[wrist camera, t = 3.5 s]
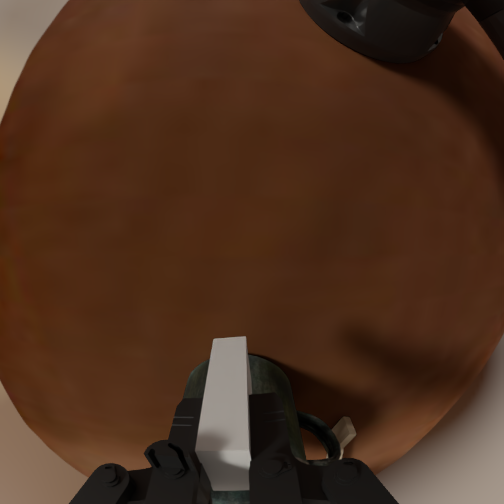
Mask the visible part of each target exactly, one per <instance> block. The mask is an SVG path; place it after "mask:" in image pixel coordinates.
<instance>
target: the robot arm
mask: <svg viewBox="0 0 504 504" xmlns="http://www.w3.org/2000/svg"><path fill="white" fill-rule="evenodd" d="M299 1H300V3H301V5H302V6H303V8H304V10H305V11H306V12H307V14H308V15H309V16H310V17H311V18H312V19H313V20H314V22H315V23H317V24H318V25H319V26H320V27H321V28H322V29H323V30H324V31H326V32H327V33H328V34H329V35H331V36H332V37H333V38H335V39H336V40H338V41H339V42H341V43H343V44H344V45H346V46H348V47H349V48H351V49H353V50H355V51H357V52H359V53H362V54H364V55H366V56H369V57H372V58H375V59H378V60H382V61H386V62H391V63H410V62H414V61H417V60H419V59H421V58H423V57H424V56H426V55H427V54H429V53H430V52H432V51H433V50H434V49H435V48H436V47H437V46H438V44H439V43H440V41H441V39H442V35H443V32H444V31H445V30H446V28H447V27H448V25H449V24H450V22H451V20H452V18H453V16H454V14H455V13H456V12H457V11H458V10H460V9H461V8H463V7H464V6H466V8H467V9H468V10H469V11H470V12H471V14H472V15H473V16H474V17H475V19H476V20H477V21H478V22H479V24H480V26H481V27H482V28H483V30H484V31H485V32H486V34H487V35H488V37H489V38H490V39H491V41H492V42H493V44H494V45H495V47H496V48H497V50H498V52H499V53H500V55H501V56H502V58H503V60H504V0H299ZM144 455H145V456H146V458H147V460H148V461H149V463H150V464H151V466H152V467H150V468H146V469H141V470H132V471H127V470H126V469H125V468H124V467H122V466H121V465H118V464H114V463H109V464H104V465H101V466H99V467H98V468H97V469H96V470H95V471H94V472H93V473H92V475H91V476H90V477H89V478H88V480H87V481H86V482H85V484H84V485H83V486H82V488H81V489H80V490H79V491H78V493H77V494H76V495H75V497H74V498H73V499H72V500H71V502H70V503H69V504H213V502H212V498H211V496H210V490H211V487H212V489H213V491H238V490H249V497H250V504H399V503H398V502H397V501H396V500H395V499H394V497H393V496H392V495H391V494H390V493H389V492H388V490H387V489H386V488H385V487H384V486H383V484H382V483H381V482H380V481H379V480H378V479H377V477H376V476H375V475H374V474H373V472H372V471H371V470H370V469H369V467H368V466H367V465H366V464H365V463H363V462H362V461H360V460H357V459H354V458H343V459H339V460H336V461H334V462H333V463H331V464H329V465H328V466H318V465H310V464H305V463H303V462H301V461H299V460H298V459H296V458H295V456H294V455H293V454H292V451H291V447H290V442H289V436H288V431H287V425H286V420H285V414H284V409H283V403H282V400H281V399H280V397H279V396H278V395H277V394H276V393H275V392H272V393H262V394H252V384H251V374H250V366H249V359H248V351H247V342H246V336H244V337H232V338H218V339H214V340H213V345H212V351H211V357H210V362H209V368H208V374H207V380H206V386H205V392H204V398H184V399H183V400H182V401H181V402H180V403H179V405H178V406H177V408H176V412H175V415H174V419H173V423H172V427H171V431H170V434H169V438H168V440H160V441H158V442H155V443H153V444H151V445H150V446H149V447H148V448H147V449H146V451H145V452H144Z"/></svg>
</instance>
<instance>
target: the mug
mask: <svg viewBox="0 0 504 504" xmlns="http://www.w3.org/2000/svg"><path fill="white" fill-rule="evenodd" d="M248 359H249V366H250V374H251V384H252V394H262V393H272V392H275V393H276V394H277V395H278V396H279V397H280V399H281V400H282V403H283V409H284V414H285V420H286V425H287V431H288V436H289V442H290V447H291V451H292V454H293V455H294V456H295V458H296V459H298V460H299V461H301V462H303V463H305V464H310V465H318V466H328V465H329V464H331V463H333V462H334V461H336V460H339V458H340V456H341V447H340V443H339V441H338V440H337V438H336V436H335V434H334V433H333V431H332V430H331V429H330V428H329V427H328V425H327V424H326V423H324V422H323V421H322V420H321V419H319V418H317V417H315V416H313V415H311V414H308V413H304V412H301V411H296V408H295V403H294V399H293V394H292V389H291V385H290V382H289V379H288V377H287V376H286V374H285V373H284V372H283V371H282V370H281V369H280V368H279V367H278V366H276V365H275V364H273V363H271V362H269V361H267V360H265V359H263V358H260V357H257V356H253V355H248ZM209 362H210V359H209V360H206V361H205V362H203V363H201V364H200V365H198V366H197V367H196V368H195V369H194V370H193V371H192V373H191V374H190V376H189V378H188V381H187V385H186V389H185V393H184V396H183V399H184V398H204V392H205V386H206V380H207V374H208V368H209ZM300 427H301V428H304V429H306V430H308V431H310V432H311V433H313V434H314V435H315V436H316V437H317V438H318V439H319V441H320V442H321V443H322V444H323V446H324V448H325V450H326V452H327V454H328V458H326V459H322V460H306V456H305V451H304V446H303V441H302V436H301V432H300ZM210 496H211V498H212V502H213V504H250V497H249V490H238V491H213V489H212V487H211V490H210Z"/></svg>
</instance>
